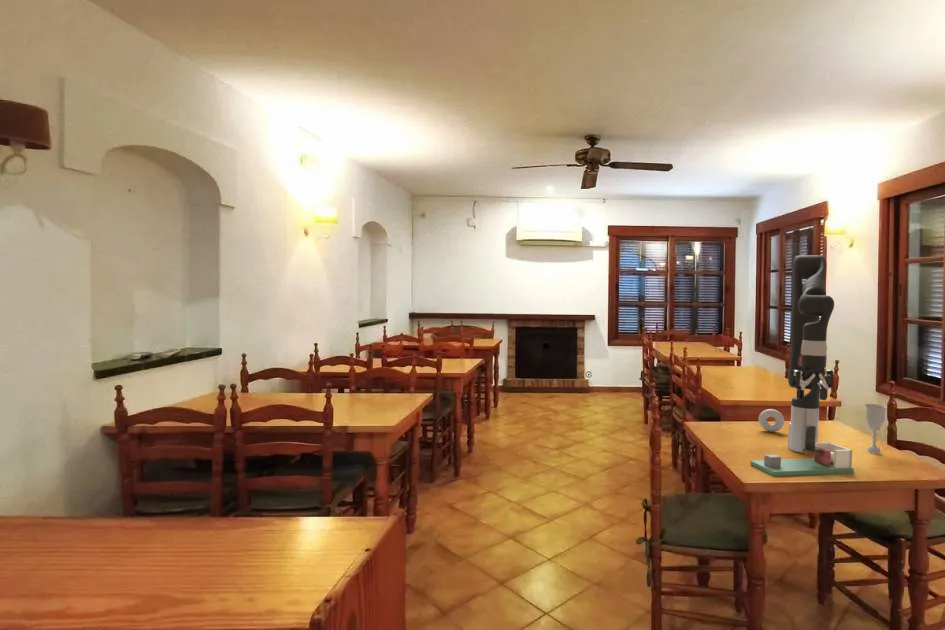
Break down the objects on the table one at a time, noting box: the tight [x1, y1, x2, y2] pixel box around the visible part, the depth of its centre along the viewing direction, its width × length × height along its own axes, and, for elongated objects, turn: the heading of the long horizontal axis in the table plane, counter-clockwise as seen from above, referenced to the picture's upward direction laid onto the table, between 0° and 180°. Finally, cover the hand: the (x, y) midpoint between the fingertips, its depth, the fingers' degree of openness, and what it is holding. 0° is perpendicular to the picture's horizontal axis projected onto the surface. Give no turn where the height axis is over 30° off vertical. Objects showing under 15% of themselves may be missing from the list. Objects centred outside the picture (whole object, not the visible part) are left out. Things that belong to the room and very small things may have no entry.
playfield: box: [749, 454, 855, 477], centre depth 195 cm, size 12×30×5 cm, turn 99°
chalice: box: [864, 403, 888, 455], centre depth 216 cm, size 7×7×18 cm
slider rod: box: [802, 425, 831, 465], centre depth 196 cm, size 5×8×13 cm, turn 99°
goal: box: [815, 441, 853, 468], centre depth 197 cm, size 10×6×6 cm, turn 9°
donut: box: [758, 408, 785, 433], centre depth 246 cm, size 10×4×10 cm, turn 60°
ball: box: [830, 452, 834, 464], centre depth 197 cm, size 4×4×4 cm
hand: (811, 400), depth 194 cm, fingers open, 8 cm apart
